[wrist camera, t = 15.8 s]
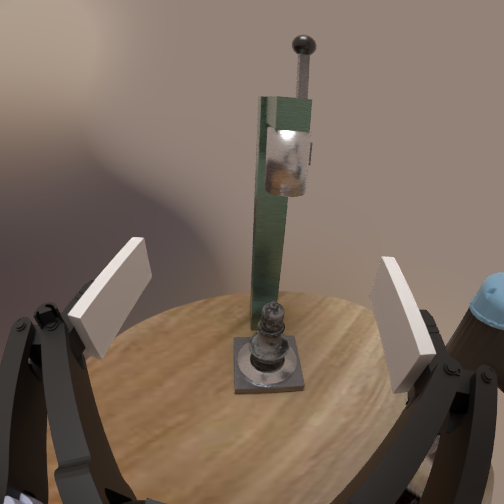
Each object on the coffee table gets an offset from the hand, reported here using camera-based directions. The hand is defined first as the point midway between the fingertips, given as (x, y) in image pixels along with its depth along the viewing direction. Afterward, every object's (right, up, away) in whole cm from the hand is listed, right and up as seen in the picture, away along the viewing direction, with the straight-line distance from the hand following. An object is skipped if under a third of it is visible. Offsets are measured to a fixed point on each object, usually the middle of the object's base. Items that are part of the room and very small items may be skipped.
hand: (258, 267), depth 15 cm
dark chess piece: (+2, -16, +25) cm, 30 cm away
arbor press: (+2, -15, +29) cm, 33 cm away
